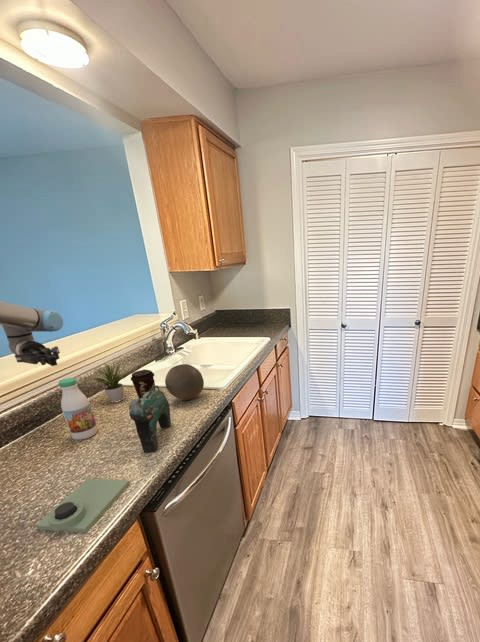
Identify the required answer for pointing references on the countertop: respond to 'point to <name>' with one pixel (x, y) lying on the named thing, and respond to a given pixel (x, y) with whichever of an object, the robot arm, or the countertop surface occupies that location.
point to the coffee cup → (143, 381)
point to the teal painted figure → (150, 417)
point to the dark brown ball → (184, 382)
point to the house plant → (111, 383)
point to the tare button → (65, 510)
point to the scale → (86, 505)
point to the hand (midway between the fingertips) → (53, 361)
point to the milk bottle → (77, 410)
